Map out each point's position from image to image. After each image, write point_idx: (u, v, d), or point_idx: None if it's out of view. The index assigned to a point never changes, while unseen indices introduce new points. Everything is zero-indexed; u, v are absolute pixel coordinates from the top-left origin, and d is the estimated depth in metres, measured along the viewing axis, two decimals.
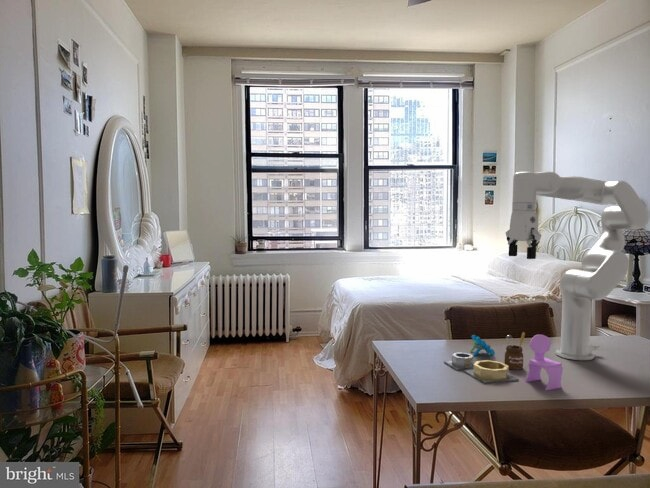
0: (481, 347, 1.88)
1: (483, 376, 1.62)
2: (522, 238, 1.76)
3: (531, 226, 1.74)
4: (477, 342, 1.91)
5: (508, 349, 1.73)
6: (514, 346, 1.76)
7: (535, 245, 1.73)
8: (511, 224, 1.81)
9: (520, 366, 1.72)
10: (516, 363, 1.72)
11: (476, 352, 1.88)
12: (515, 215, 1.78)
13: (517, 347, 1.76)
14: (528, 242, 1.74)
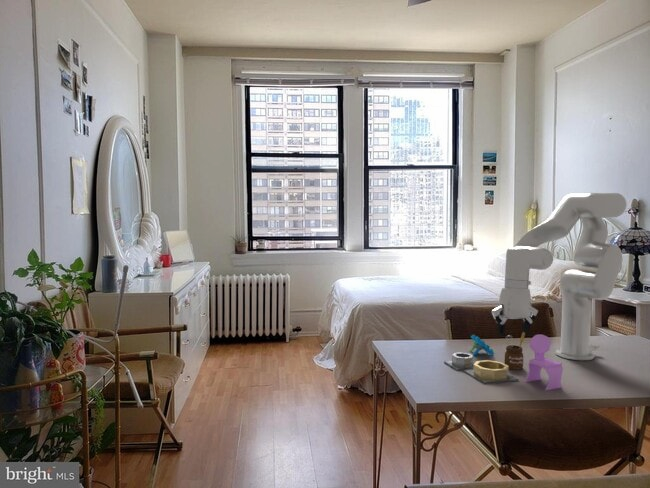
0: (480, 347, 1.88)
1: (483, 376, 1.62)
2: (525, 316, 1.72)
3: None
4: (477, 342, 1.91)
5: (508, 349, 1.73)
6: (514, 346, 1.76)
7: None
8: (511, 303, 1.70)
9: (520, 366, 1.72)
10: (516, 363, 1.72)
11: (475, 352, 1.88)
12: (518, 293, 1.70)
13: (517, 347, 1.76)
14: (529, 319, 1.73)
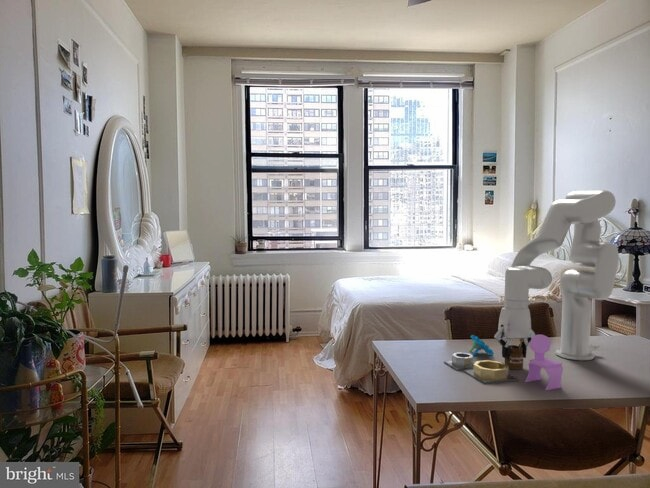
0: (480, 347, 1.88)
1: (483, 376, 1.62)
2: (525, 335, 1.73)
3: None
4: (476, 342, 1.91)
5: None
6: (514, 346, 1.76)
7: None
8: (511, 323, 1.71)
9: (520, 366, 1.72)
10: (517, 362, 1.72)
11: (475, 352, 1.88)
12: (518, 313, 1.71)
13: (517, 347, 1.76)
14: (526, 341, 1.74)
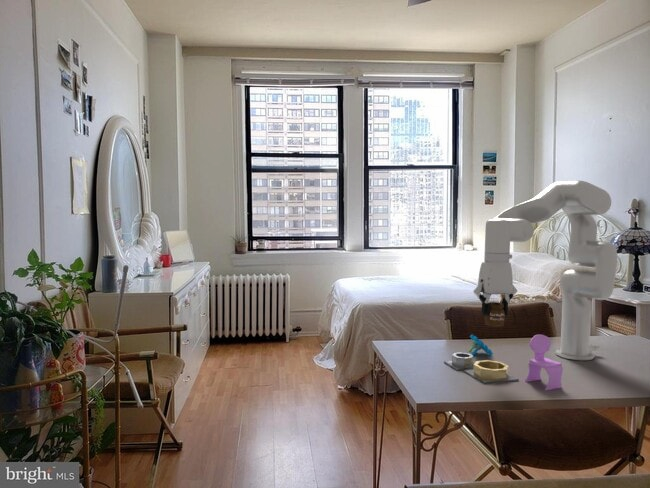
0: (479, 347, 1.88)
1: (483, 376, 1.62)
2: (506, 291, 1.63)
3: None
4: (476, 342, 1.91)
5: None
6: (495, 303, 1.67)
7: None
8: (491, 277, 1.61)
9: (501, 323, 1.63)
10: (497, 319, 1.62)
11: (474, 352, 1.88)
12: (499, 267, 1.61)
13: (498, 304, 1.66)
14: (507, 297, 1.64)
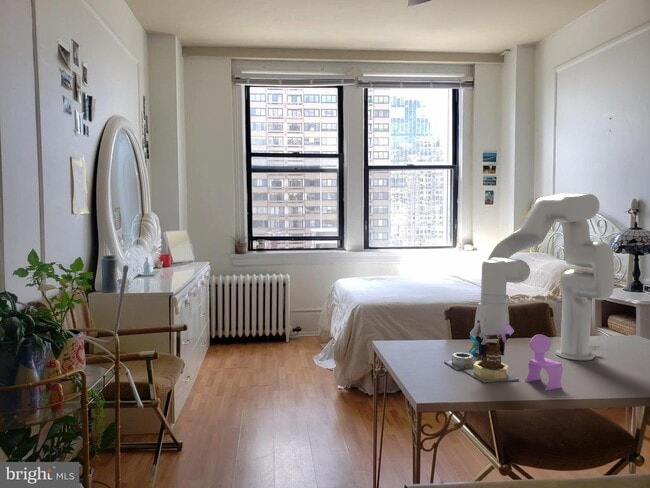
0: (478, 347, 1.88)
1: (483, 376, 1.62)
2: (503, 332, 1.63)
3: None
4: (475, 342, 1.91)
5: None
6: (492, 343, 1.67)
7: None
8: (487, 319, 1.61)
9: (498, 364, 1.63)
10: (494, 360, 1.62)
11: (473, 352, 1.88)
12: (495, 308, 1.61)
13: (495, 344, 1.66)
14: (504, 337, 1.64)
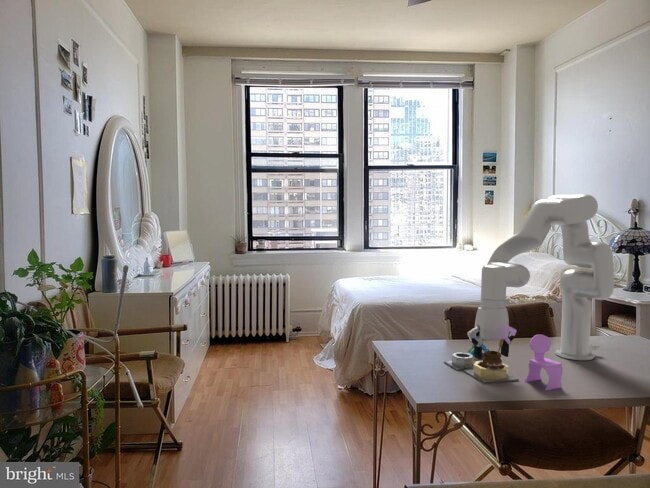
0: None
1: (483, 376, 1.62)
2: (503, 337, 1.63)
3: None
4: None
5: (486, 355, 1.64)
6: (492, 352, 1.67)
7: None
8: (487, 324, 1.61)
9: None
10: None
11: (473, 352, 1.88)
12: (495, 313, 1.61)
13: (496, 353, 1.67)
14: (507, 339, 1.65)
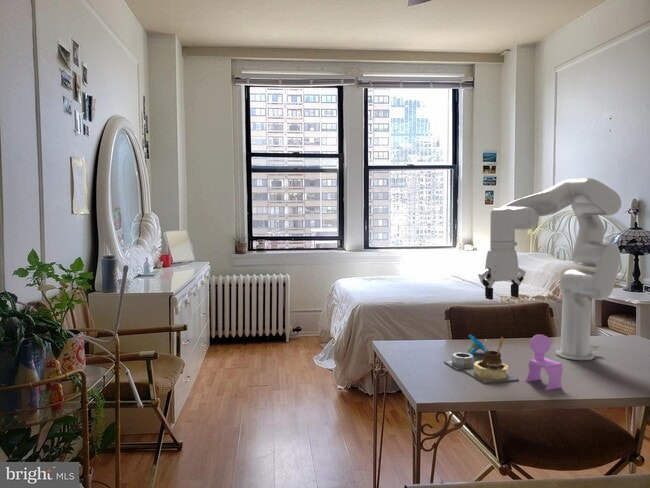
0: (477, 347, 1.88)
1: (483, 376, 1.62)
2: (513, 277, 1.68)
3: None
4: (474, 342, 1.91)
5: (486, 355, 1.64)
6: (492, 352, 1.67)
7: None
8: (497, 265, 1.66)
9: None
10: None
11: (472, 352, 1.88)
12: (505, 254, 1.66)
13: (495, 353, 1.67)
14: (517, 280, 1.70)
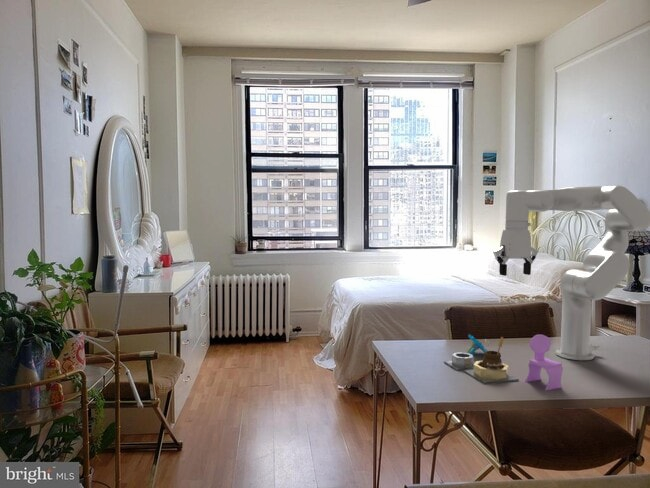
0: (476, 347, 1.88)
1: (483, 376, 1.62)
2: (525, 256, 1.80)
3: None
4: (474, 342, 1.91)
5: (486, 355, 1.64)
6: (492, 352, 1.67)
7: None
8: (512, 243, 1.78)
9: None
10: None
11: (471, 352, 1.88)
12: (519, 233, 1.78)
13: (495, 353, 1.67)
14: (529, 259, 1.81)
